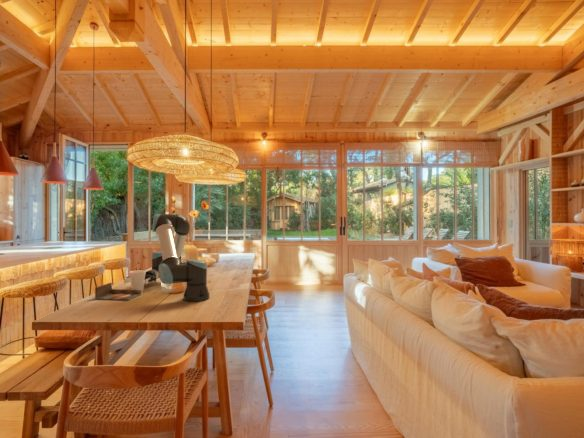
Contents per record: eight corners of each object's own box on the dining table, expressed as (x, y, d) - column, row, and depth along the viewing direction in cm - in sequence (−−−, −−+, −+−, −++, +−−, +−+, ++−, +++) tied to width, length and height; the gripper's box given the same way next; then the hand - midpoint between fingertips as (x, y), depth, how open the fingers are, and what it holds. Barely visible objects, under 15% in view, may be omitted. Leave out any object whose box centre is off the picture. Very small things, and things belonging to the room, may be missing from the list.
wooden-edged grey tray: (141, 294, 206) (141, 283, 206) (128, 300, 192) (128, 288, 191) (109, 293, 207) (109, 282, 207) (95, 299, 193) (95, 287, 192)
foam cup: (140, 288, 221) (140, 269, 221) (148, 291, 216) (148, 271, 216) (126, 291, 214) (126, 271, 214) (134, 293, 208) (134, 273, 208)
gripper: (168, 281, 232) (153, 287, 211) (133, 280, 233) (116, 286, 212) (168, 270, 232) (154, 276, 211) (133, 269, 233) (116, 275, 212)
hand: (135, 281), depth 212 cm, fingers open, 13 cm apart
